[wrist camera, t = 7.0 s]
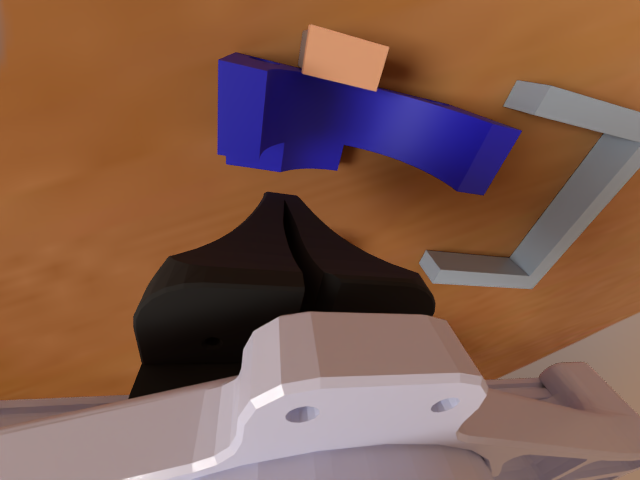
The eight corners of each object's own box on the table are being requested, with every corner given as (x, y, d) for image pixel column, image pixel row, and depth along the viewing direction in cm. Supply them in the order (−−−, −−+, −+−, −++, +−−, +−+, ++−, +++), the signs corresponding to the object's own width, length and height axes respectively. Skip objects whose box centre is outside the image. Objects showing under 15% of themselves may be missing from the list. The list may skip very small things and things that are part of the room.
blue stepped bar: (232, 145, 16) (217, 191, 11) (236, 52, 13) (218, 59, 9) (416, 175, 19) (467, 222, 14) (447, 103, 16) (522, 130, 12)
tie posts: (312, 250, 21) (319, 284, 18) (269, 247, 20) (269, 281, 17) (363, 45, 14) (389, 47, 11) (301, 28, 13) (310, 24, 10)
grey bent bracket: (512, 270, 26) (532, 288, 24) (419, 263, 23) (432, 283, 22) (635, 115, 18) (678, 123, 16) (517, 80, 16) (551, 85, 14)
